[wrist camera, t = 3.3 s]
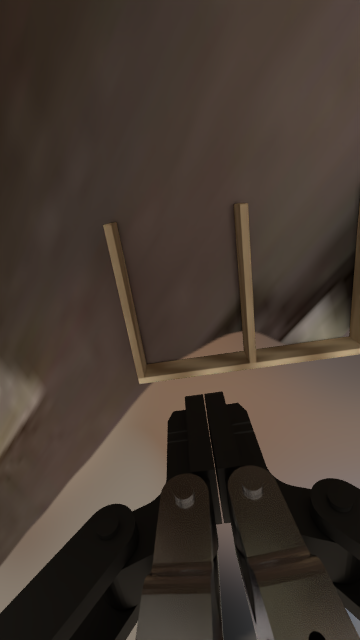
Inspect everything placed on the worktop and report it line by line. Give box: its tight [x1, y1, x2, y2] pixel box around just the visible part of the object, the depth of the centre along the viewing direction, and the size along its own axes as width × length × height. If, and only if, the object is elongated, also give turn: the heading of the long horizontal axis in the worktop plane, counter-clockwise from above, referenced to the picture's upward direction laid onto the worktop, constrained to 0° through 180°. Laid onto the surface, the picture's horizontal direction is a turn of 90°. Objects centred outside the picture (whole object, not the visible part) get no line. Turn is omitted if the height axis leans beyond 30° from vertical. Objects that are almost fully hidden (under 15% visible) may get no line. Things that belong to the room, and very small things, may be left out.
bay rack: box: [103, 203, 360, 384], centre depth 26 cm, size 32×15×2 cm, turn 98°
